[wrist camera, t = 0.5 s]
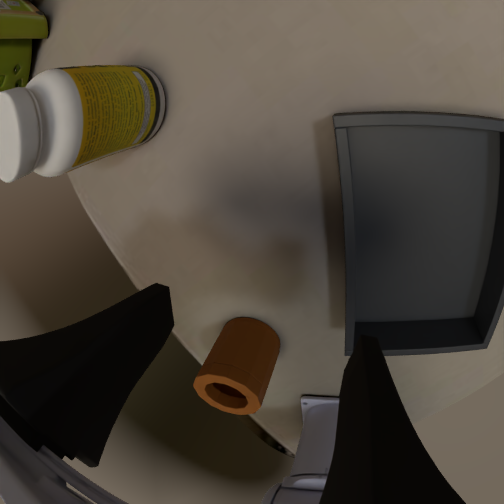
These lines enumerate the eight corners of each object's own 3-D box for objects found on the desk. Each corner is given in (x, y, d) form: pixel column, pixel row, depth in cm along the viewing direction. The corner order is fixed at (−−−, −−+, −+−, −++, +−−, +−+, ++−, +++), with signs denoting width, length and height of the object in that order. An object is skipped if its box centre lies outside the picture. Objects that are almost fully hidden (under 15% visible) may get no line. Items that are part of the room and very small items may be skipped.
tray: (475, 318, 18) (486, 348, 15) (347, 323, 21) (344, 356, 19) (502, 118, 11) (531, 125, 8) (334, 113, 15) (332, 115, 12)
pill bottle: (151, 50, 15) (10, 48, 6) (181, 123, 18) (42, 165, 8) (96, 93, 18) (-26, 121, 9) (121, 158, 20) (3, 213, 11)
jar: (283, 360, 26) (264, 419, 20) (230, 355, 27) (205, 407, 22) (276, 318, 23) (252, 381, 18) (217, 315, 25) (184, 369, 20)
